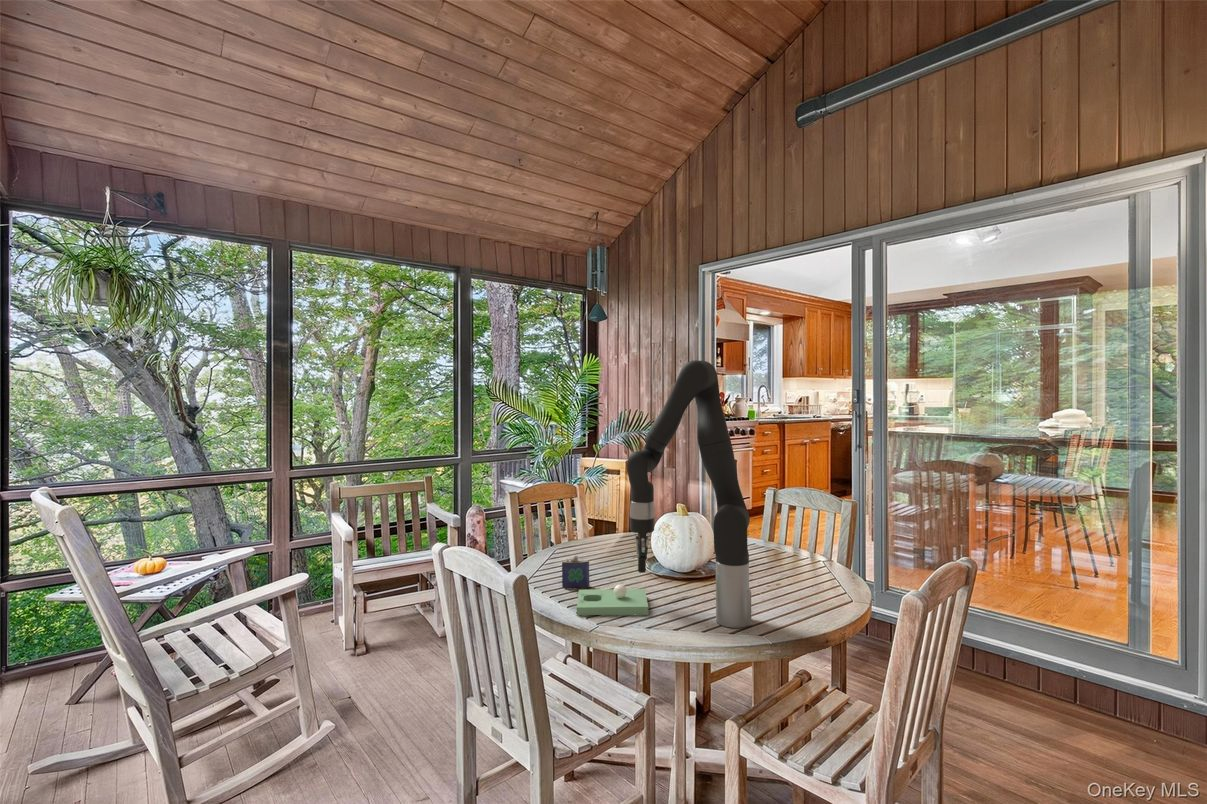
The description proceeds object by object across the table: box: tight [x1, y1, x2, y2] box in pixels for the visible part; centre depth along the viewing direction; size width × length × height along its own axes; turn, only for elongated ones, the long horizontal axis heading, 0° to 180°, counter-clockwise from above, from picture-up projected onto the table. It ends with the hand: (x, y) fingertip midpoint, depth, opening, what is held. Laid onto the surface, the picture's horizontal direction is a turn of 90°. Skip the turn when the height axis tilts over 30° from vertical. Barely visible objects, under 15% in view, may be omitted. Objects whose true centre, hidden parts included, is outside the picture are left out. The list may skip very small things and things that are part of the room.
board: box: [576, 588, 649, 616], centre depth 173 cm, size 21×15×2 cm
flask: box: [561, 555, 590, 589], centre depth 189 cm, size 9×3×11 cm, turn 95°
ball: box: [613, 583, 627, 598], centre depth 173 cm, size 4×4×4 cm
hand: (641, 571), depth 172 cm, fingers closed
